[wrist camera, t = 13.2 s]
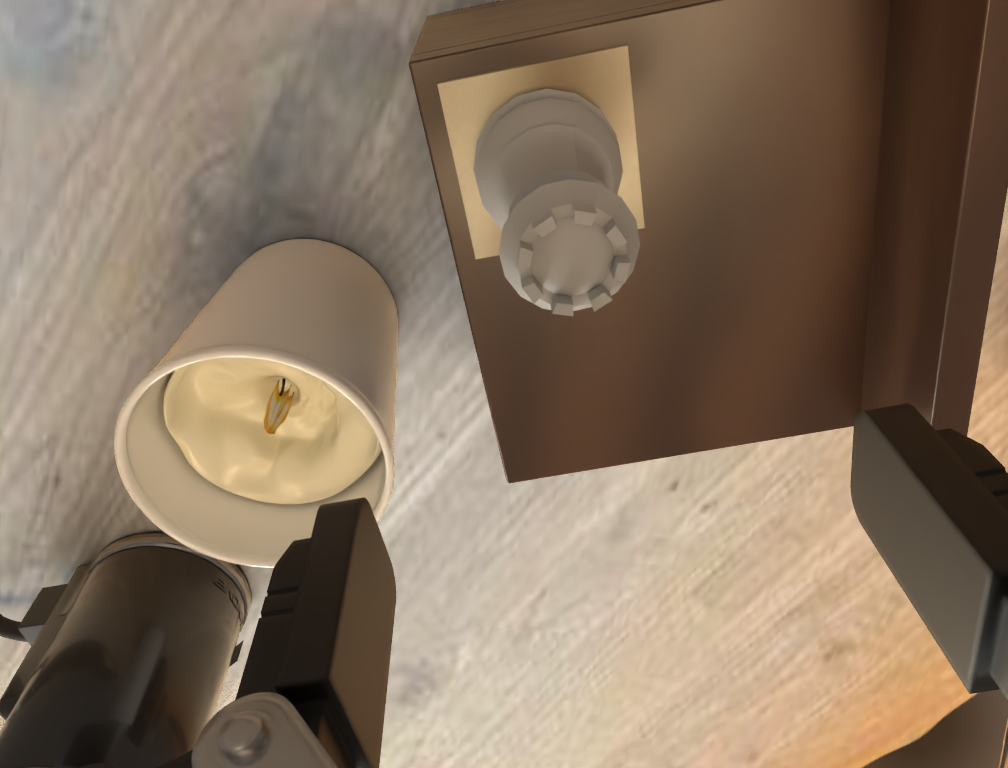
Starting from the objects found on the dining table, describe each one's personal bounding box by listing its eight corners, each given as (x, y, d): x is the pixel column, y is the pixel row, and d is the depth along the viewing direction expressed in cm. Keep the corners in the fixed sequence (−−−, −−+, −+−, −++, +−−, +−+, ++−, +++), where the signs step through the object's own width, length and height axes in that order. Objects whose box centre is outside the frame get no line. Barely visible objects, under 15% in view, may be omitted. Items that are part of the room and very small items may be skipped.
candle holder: (184, 355, 39) (83, 517, 29) (247, 183, 35) (154, 304, 24) (367, 427, 42) (334, 599, 32) (448, 276, 37) (439, 420, 27)
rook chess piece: (503, 61, 22) (515, 133, 16) (642, 116, 23) (711, 206, 17) (453, 203, 25) (446, 320, 18) (583, 248, 26) (622, 375, 19)
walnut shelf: (499, 356, 40) (512, 573, 27) (425, 16, 31) (394, 99, 19) (797, 303, 39) (957, 503, 26) (804, -63, 30) (1045, -33, 18)
